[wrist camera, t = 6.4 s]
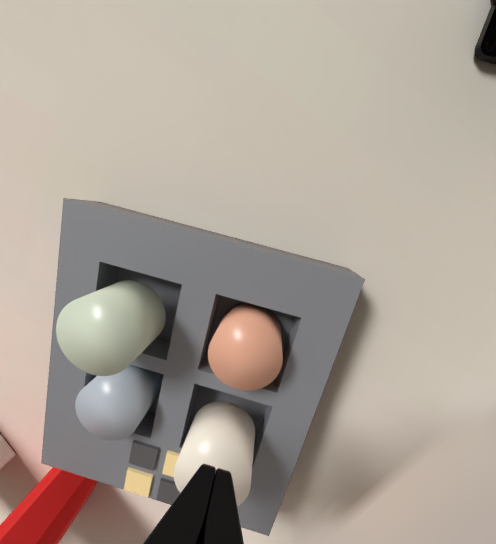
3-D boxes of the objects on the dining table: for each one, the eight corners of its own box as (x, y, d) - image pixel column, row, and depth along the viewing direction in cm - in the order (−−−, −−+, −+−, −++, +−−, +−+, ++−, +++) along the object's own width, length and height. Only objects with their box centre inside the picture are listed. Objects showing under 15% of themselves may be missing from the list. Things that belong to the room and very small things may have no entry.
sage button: (171, 290, 14) (143, 310, 11) (159, 351, 15) (130, 385, 12) (105, 272, 15) (59, 286, 11) (97, 333, 15) (52, 362, 12)
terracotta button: (288, 311, 16) (292, 334, 13) (271, 366, 17) (271, 399, 14) (228, 294, 16) (217, 313, 13) (214, 349, 17) (200, 378, 14)
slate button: (166, 362, 18) (143, 393, 14) (157, 409, 18) (133, 448, 15) (112, 346, 18) (78, 374, 15) (105, 394, 19) (72, 429, 16)
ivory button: (262, 412, 15) (259, 461, 12) (246, 462, 16) (239, 520, 13) (200, 393, 16) (181, 437, 12) (187, 444, 16) (167, 497, 13)
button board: (348, 268, 16) (366, 280, 13) (269, 490, 20) (268, 539, 17) (99, 201, 17) (60, 197, 14) (73, 429, 21) (38, 465, 18)
